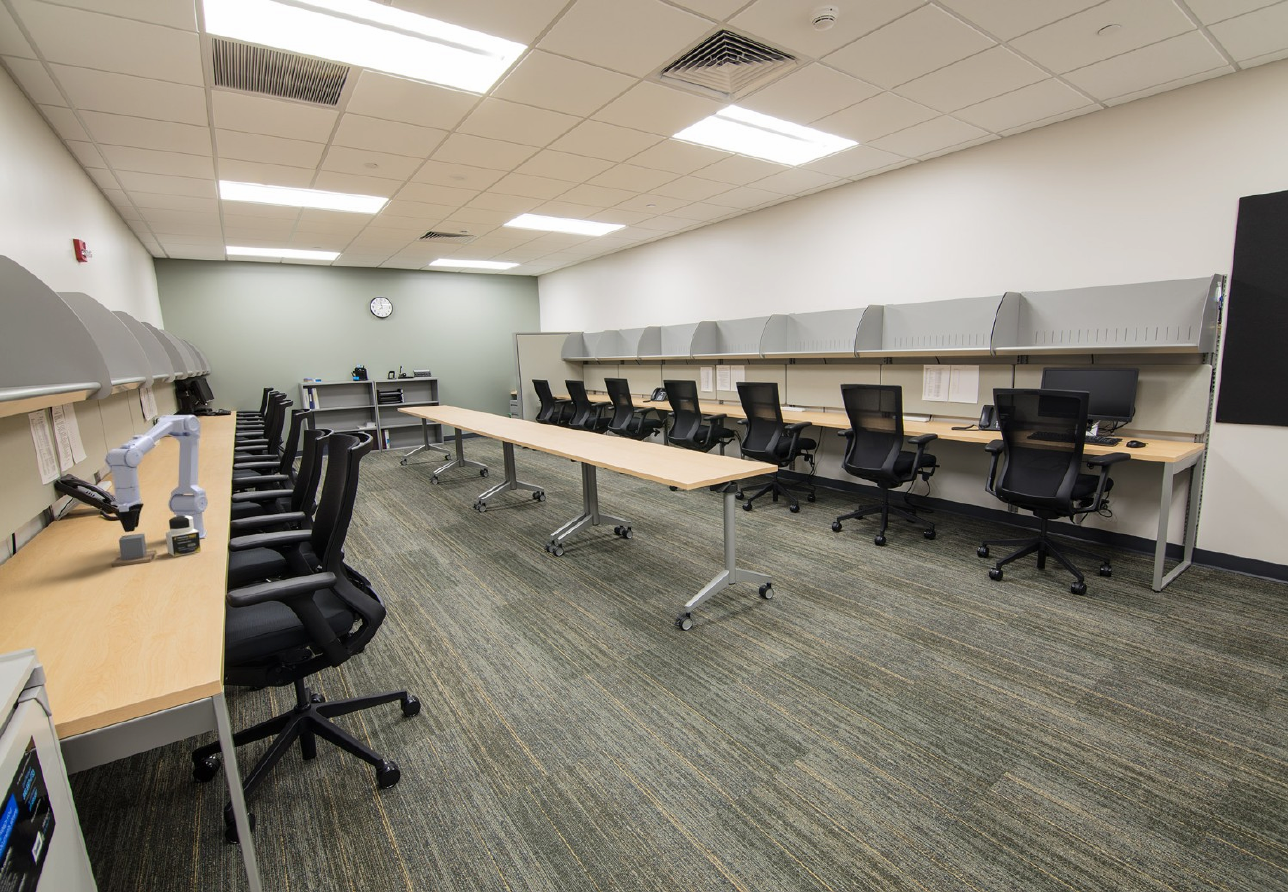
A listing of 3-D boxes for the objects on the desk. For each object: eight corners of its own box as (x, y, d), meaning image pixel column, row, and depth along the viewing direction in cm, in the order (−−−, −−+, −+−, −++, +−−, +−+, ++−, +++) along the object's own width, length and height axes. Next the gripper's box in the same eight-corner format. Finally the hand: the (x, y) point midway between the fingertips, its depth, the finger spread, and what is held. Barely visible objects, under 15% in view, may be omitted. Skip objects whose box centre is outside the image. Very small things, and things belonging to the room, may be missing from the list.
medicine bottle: (173, 557, 180) (170, 520, 179) (167, 552, 184) (163, 517, 183) (201, 551, 186) (197, 516, 184) (194, 547, 190) (190, 513, 189)
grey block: (124, 556, 178) (122, 535, 177) (146, 553, 181) (144, 533, 180) (121, 560, 174) (118, 539, 173) (143, 557, 176) (141, 537, 176)
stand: (119, 557, 179) (117, 539, 178) (156, 553, 184) (154, 535, 183) (112, 567, 171) (109, 548, 170) (150, 561, 176) (148, 543, 175)
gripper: (114, 484, 178) (119, 525, 180) (103, 492, 166) (108, 537, 168) (144, 482, 182) (148, 522, 184) (134, 490, 170) (139, 533, 172)
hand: (131, 529), depth 176 cm, fingers open, 5 cm apart
